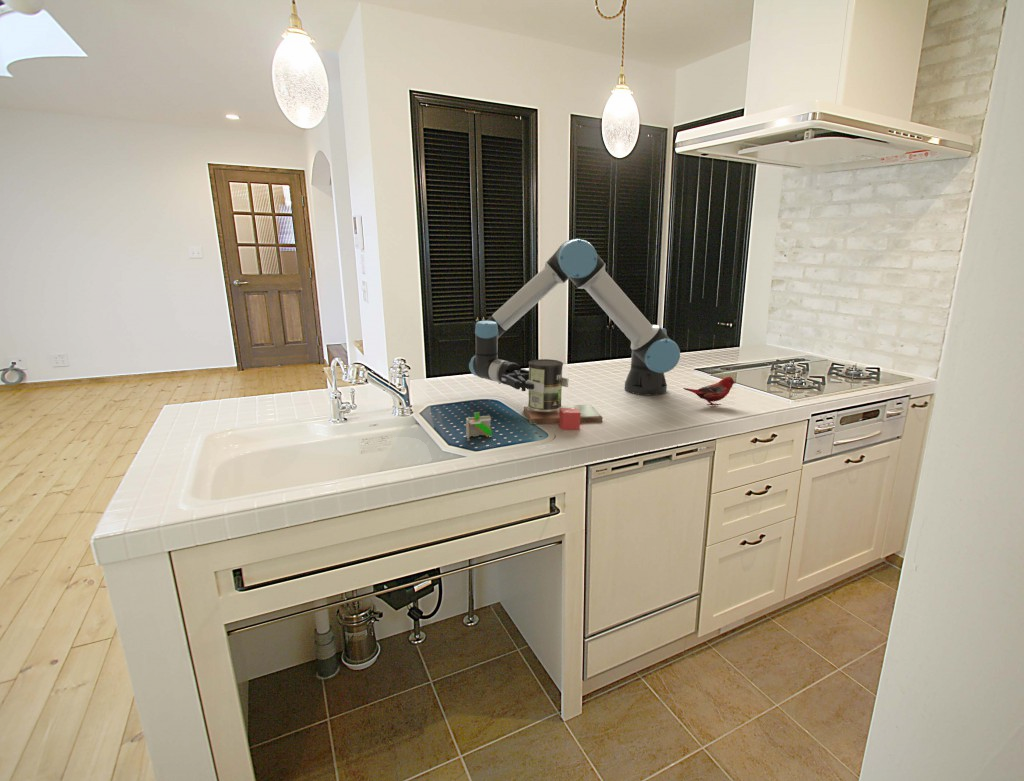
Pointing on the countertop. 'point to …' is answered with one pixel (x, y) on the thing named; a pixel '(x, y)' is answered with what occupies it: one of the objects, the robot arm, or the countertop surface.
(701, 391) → the decorative bird figurine
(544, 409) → the coffee can
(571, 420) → the red cube
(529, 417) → the green brown wooden board
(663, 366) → the robot arm
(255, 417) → the countertop surface
